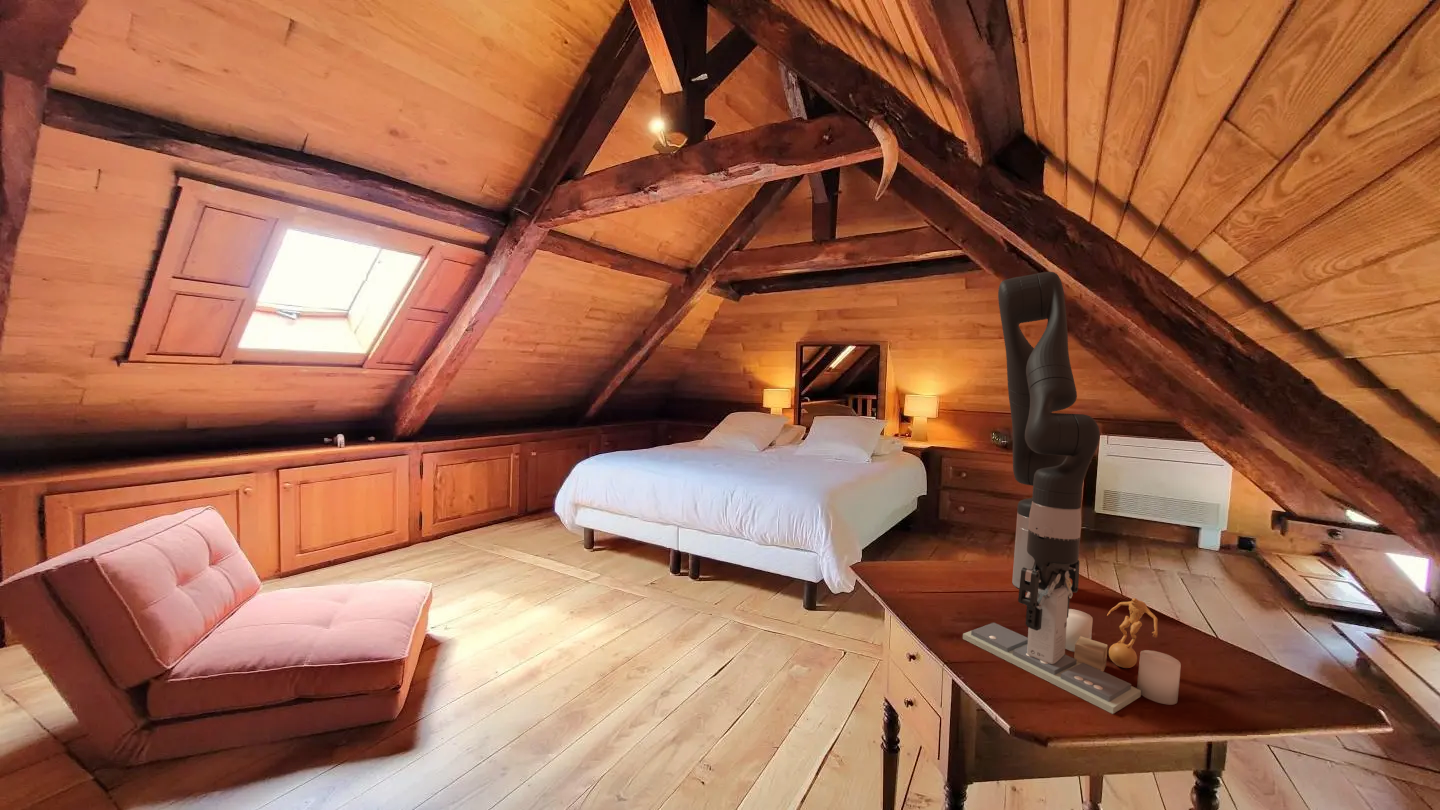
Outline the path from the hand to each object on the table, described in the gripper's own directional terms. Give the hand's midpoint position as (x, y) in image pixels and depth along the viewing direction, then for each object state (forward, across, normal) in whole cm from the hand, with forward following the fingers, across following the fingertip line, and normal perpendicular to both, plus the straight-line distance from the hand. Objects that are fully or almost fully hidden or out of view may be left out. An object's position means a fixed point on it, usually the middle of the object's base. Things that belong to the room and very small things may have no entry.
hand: (1046, 622), depth 93 cm
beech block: (+8, -7, +4) cm, 11 cm away
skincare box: (+6, 0, 0) cm, 6 cm away
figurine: (+8, -13, +7) cm, 17 cm away
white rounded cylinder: (+8, -12, -1) cm, 14 cm away
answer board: (+8, 0, 0) cm, 8 cm away
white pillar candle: (+8, -8, +14) cm, 17 cm away
